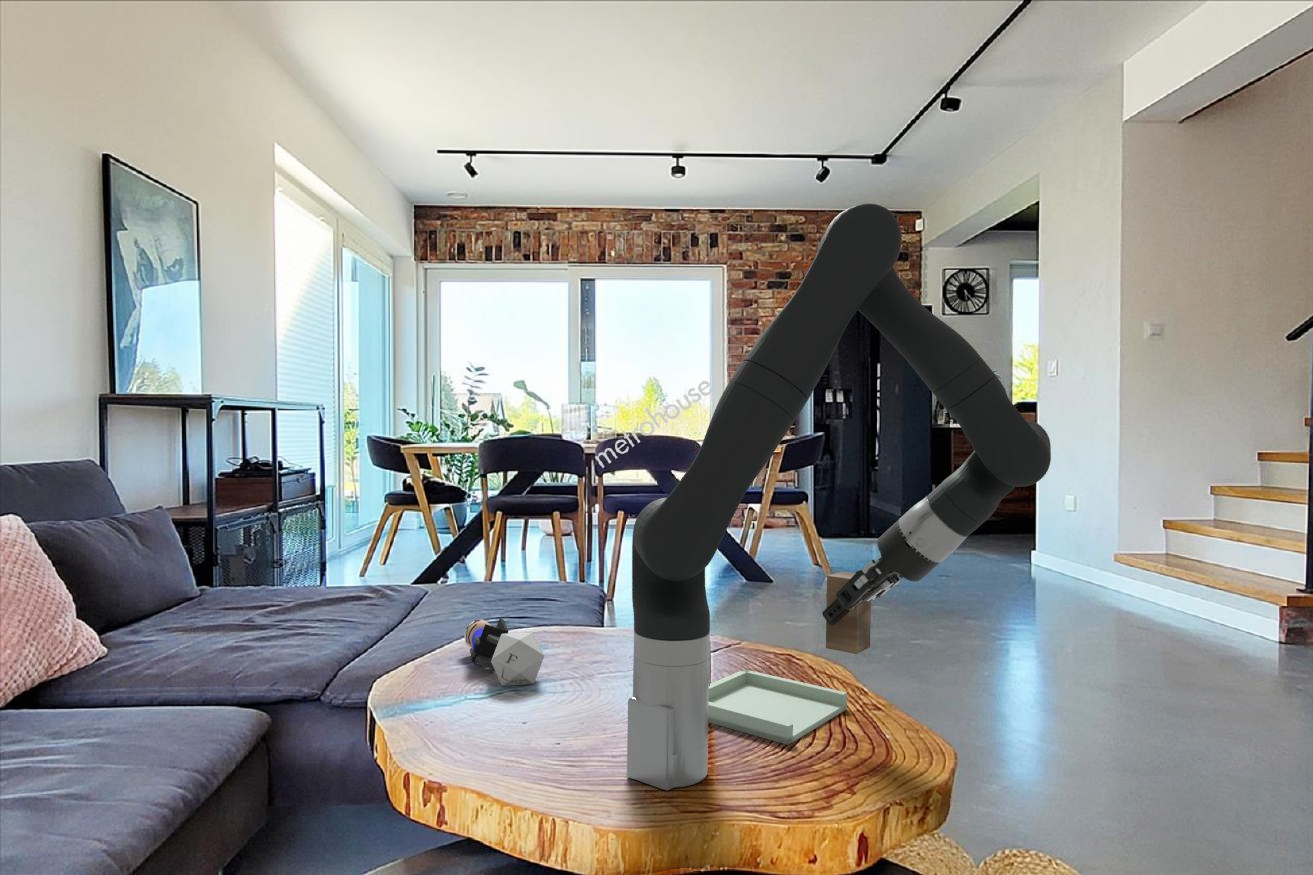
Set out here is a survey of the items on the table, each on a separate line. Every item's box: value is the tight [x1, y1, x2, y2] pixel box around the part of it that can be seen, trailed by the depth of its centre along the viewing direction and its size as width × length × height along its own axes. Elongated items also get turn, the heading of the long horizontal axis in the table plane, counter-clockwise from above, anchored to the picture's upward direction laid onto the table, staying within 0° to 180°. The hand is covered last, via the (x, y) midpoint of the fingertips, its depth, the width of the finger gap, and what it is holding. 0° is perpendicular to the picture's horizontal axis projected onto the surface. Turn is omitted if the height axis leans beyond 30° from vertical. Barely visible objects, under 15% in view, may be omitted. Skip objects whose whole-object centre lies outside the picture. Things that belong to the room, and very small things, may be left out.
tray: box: [708, 668, 848, 746], centre depth 122 cm, size 18×18×2 cm
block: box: [825, 571, 872, 655], centre depth 114 cm, size 4×4×10 cm
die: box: [491, 631, 545, 687], centre depth 134 cm, size 8×9×10 cm
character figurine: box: [463, 617, 509, 670], centre depth 145 cm, size 8×7×15 cm
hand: (835, 615), depth 115 cm, fingers closed on block, 4 cm apart
